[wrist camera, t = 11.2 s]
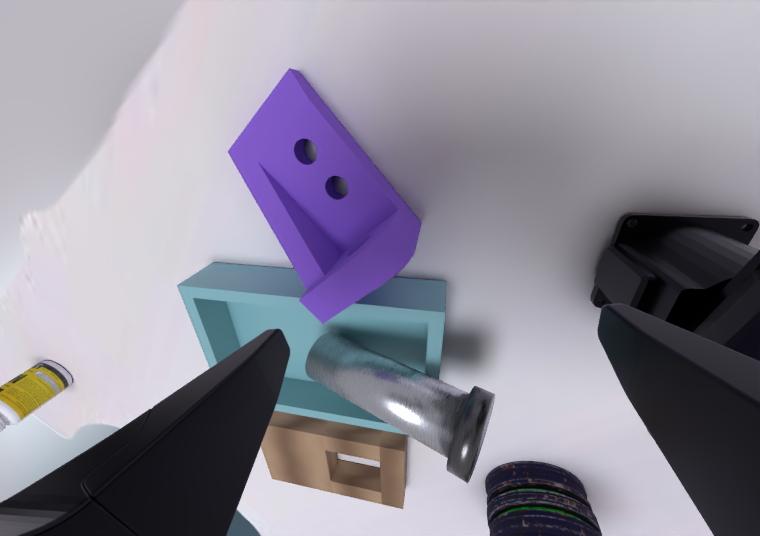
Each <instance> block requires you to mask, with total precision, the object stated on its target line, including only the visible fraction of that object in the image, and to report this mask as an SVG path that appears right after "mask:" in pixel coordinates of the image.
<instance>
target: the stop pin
mask: <svg viewBox="0 0 760 536" xmlns="http://www.w3.org/2000/svg"><path fill="white" fill-rule="evenodd" d="M305 370H306V374H307V376H308V377H309V378H310V379H312V380H314V381H316V382H317V383H319V384H321V385H323V386H324V387H326V388H328V389H329V390H331V391H333V392H335V393H336V394H338V395H340V396H341V397H343V398H345V399H347V400H348V401H350V402H352V403H354V404H355V405H357V406H359V407H360V408H362V409H364V410H366V411H367V412H369V413H371V414H372V415H374V416H376V417H378V418H379V419H381V420H383V421H385V422H386V423H388V424H390V425H391V426H393V427H395V428H397V429H398V430H400V431H402V432H403V433H405V434H407V435H409V436H410V437H412V438H414V439H416V440H417V441H419V442H421V443H422V444H424V445H426V446H428V447H429V448H431V449H433V450H434V451H436V452H438V453H440V454H441V455H443V456H445V457H447V458H448V461H447V471H449V472H450V473H452V474H454V475H455V476H457V477H459V478H460V479H462V480H464V481H465V482H467V483H468V482H469V480H470V478H471V475H472V473H473V470H474V468H475V465H476V462H477V459H478V456H479V453H480V450H481V447H482V444H483V441H484V437H485V434H486V431H487V427H488V424H489V420H490V416H491V413H492V409H493V404H494V399H495V394H493V393H491V392H488V391H486V390H484V389H482V388H479V387H477V386H474V387H473V389H472V390H471V392H470V394H469V393H467V392H465V391H463V390H460V389H458V388H456V387H454V386H451V385H449V384H447V383H445V382H443V381H440V380H438V379H436V378H434V377H431V376H429V375H427V374H425V373H423V372H420V371H418V370H416V369H414V368H411V367H409V366H407V365H405V364H403V363H400V362H398V361H396V360H394V359H391V358H389V357H387V356H385V355H383V354H380V353H378V352H376V351H374V350H371V349H369V348H367V347H365V346H362V345H360V344H358V343H356V342H354V341H351V340H349V339H347V338H345V337H342V336H340V335H338V334H336V333H333V332H328V333H325V334H323V335H322V336H320V337H319V338H318V339H317V340H316V341H315V343H314V344H313V346H312V347H311V349H310V351H309V353H308V356H307V359H306V364H305Z"/></svg>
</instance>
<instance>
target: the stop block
mask: <svg viewBox="0 0 760 536" xmlns="http://www.w3.org/2000/svg"><path fill="white" fill-rule="evenodd" d="M261 448H262V451H263V454H264V456H265V459H266V462H267V465H268V468H269V471H270V474H271V477H272V479H276V480H280V481H284V482H289V483H293V484H297V485H302V486H306V487H310V488H315V489H319V490H323V491H327V492H332V493H336V494H340V495H345V496H349V497H353V498H358V499H362V500H366V501H371V502H375V503H379V504H384V505H388V506H392V507H397V508H401V509H403V505H404V496H405V488H406V464H407V435H406V434H400V433H395V432H389V431H384V430H378V429H373V428H367V427H362V426H356V425H351V424H345V423H340V422H334V421H329V420H324V419H318V418H313V417H307V416H302V415H296V414H291V413H285V412H280V411H274V412H273V415H272V417H271V420H270V422H269V425H268V428H267V430H266V433H265V436H264V438H263V441H262V443H261ZM337 453H341V454H346V455H351V456H356V457H361V458H365V459H370V460H375V461H380V468H377V467H372V466H367V465H362V464H358V463H353V462H348V461H343V460H338V458H337Z"/></svg>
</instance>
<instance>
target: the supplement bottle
mask: <svg viewBox="0 0 760 536" xmlns="http://www.w3.org/2000/svg"><path fill="white" fill-rule="evenodd" d="M71 384H72V377H71V375H70V374H69V373H68V372H67V371H66V370H65V369H64V368H63V367H61V366H60V365H58V364H56V363H54V362H52V361H42V362H40V363H38V364H37V365H35V366H33V367H32V368H30V369H29V370H27V371H25V372H24V373H22V374H20V375H19V376H17V377H16V378H14V379H12V380H11V381H9V382H7V383H6V384H4V385H2V386H1V387H0V432H1V431H3V429H5V428H6V425H14V424H17V423H18V422H20V421H22V420H23V419H24V418H26V417H27V416H28V415H30V414H31V413H33V412H34V411H35V410H37V409H38V408H40V407H41V406H42V405H44V404H45V403H47V402H48V401H49V400H51V399H52V398H53V397H55V396H56V395H58V394H59V393H60V392H62V391H63V390H65V389H66V388H67V387H69V386H70V385H71Z"/></svg>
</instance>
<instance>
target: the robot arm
mask: <svg viewBox="0 0 760 536" xmlns="http://www.w3.org/2000/svg"><path fill="white" fill-rule="evenodd" d="M631 219H634V222H633V223H632V224H630V225H627V223H628V221H630V220H631ZM745 224H747V225H746V227H745V228H743V229H741V227H742V226H743V225H745ZM758 227H759V222H758V221H757V220H755V219H752V218H749V217H738V216H709V215H680V214H651V213H628V214H625V215H624V216H623V217H621V219H620V220H619V223H618V226H617V228H616V231H615V234H614V237H613V239H612V242H611V245H610V246H609V247H608V248H607V249H606V251H605V253H604V256H603V259H602V262H601V264H600V267H599V270H598V273H597V276H596V278H595V281H594V282H595V284H596V286H595V288H594V291H593V294H592V297H591V302H592V303H593V304H594V306H596V307H598V308H602V309H601V314H600V319H599V325H598V337H599V340H600V342H601V344H602V346H603V348H604V350H605V352H606V354H607V356H608V358H609V361H610V363H611V365H612V367H613V369H614V371H615V373H616V375H617V377H618V379H619V381H620V383H621V385H622V387H623V389H624V391H625V393H626V395H627V397H628V398H629V400H630V402H631V403H632V405H633V407H634V408H635V410H636V411H637V413H638V415H639V416H640V418H641V419H642V421H643V423H644V424H645V426H646V428H647V430H648V432H649V433H650V435H651V436H652V437H653V439H654V440H655V442H656V443H657V445H658V447H659V448H660V450H661V451H662V453H663V455H664V456H665V458H666V459H667V461H668V463H669V464H670V466H671V467H672V469H673V471H674V472H675V474H676V475H677V477H678V479H679V480H680V482H681V483H682V485H683V487H684V488H685V490H686V491H687V493H688V495H689V496H690V498H691V499H692V501H693V503H694V504H695V506H696V507H697V509H698V511H699V512H700V514H701V515H702V517H703V519H704V520H705V522H706V523H707V525H708V527H709V528H710V530H711V531H712V533H713V535H714V536H760V250H757V249H755V248H752V247H750V246H748V244H749V243H750V241H751V239H752V238H753V236H754V234H755V233H756V231H757V229H758ZM599 299H603V300H602V301H599V302H598V300H599ZM289 357H290V347H289V345H288V343H287V340H286V338H285V336H284V334H283V331H282V330H281V329H268V330H266V331H264V332H263V333H261V334H260V335H258V336H257V337H255V338H254V339H252V340H251V341H249V342H248V343H247V344H245V345H244V346H242V347H241V348H239V349H238V350H236V351H235V352H233V353H232V354H230V355H229V356H227V357H226V358H224V359H223V360H221V361H220V362H219V363H217V364H216V365H214V366H213V367H211V368H210V369H208V370H207V371H205V372H204V373H202V374H201V375H199V376H198V377H196V378H195V379H193V380H192V381H191V382H189V383H188V384H186V385H185V386H183V387H182V388H180V389H179V390H177V391H176V392H174V393H173V394H171V395H170V396H168V397H167V398H165V399H164V400H163V401H161V402H160V403H158V404H157V405H155V406H154V407H153V408H152V409H149V410H148V411H146V412H145V413H143V414H142V415H140V416H139V417H137V418H136V419H134V420H133V421H131V422H130V423H128V424H127V425H125V426H124V427H122V428H121V429H119V430H118V431H116V432H115V433H113V434H112V435H110V436H109V437H107V438H105V439H104V440H102V441H101V442H99V443H98V444H96V445H94V446H93V447H91V448H90V449H88V450H87V451H85V452H83V453H82V454H80V455H78V456H77V457H75V458H74V459H72V460H70V461H69V462H67V463H65V464H64V465H62V466H61V467H59V468H57V469H56V470H54V471H53V472H51V473H50V474H48V475H46V476H45V477H43V478H41V479H40V480H38V481H36V482H35V483H33V484H32V485H30V486H28V487H27V488H25V489H24V490H22V491H20V492H19V493H17V494H15V495H14V496H12V497H10V498H8V499H7V500H5V501H3V502H1V503H0V536H226V535H227V533H228V530H229V528H230V525H231V522H232V520H233V517H234V514H235V512H236V509H237V507H238V504H239V501H240V499H241V496H242V493H243V491H244V488H245V486H246V483H247V480H248V478H249V475H250V472H251V470H252V467H253V464H254V462H255V459H256V457H257V454H258V451H259V449H260V446H261V443H262V441H263V438H264V436H265V433H266V430H267V428H268V425H269V422H270V420H271V417H272V415H273V412H274V409H275V406H276V404H277V401H278V398H279V394H280V391H281V387H282V383H283V380H284V376H285V372H286V369H287V365H288V361H289Z"/></svg>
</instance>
